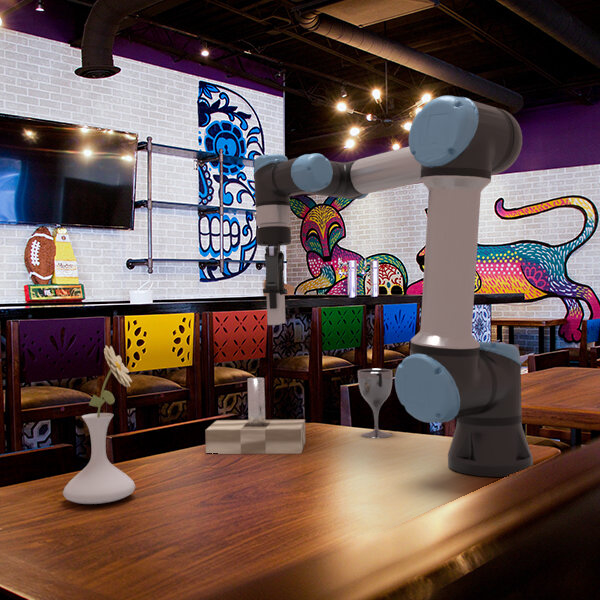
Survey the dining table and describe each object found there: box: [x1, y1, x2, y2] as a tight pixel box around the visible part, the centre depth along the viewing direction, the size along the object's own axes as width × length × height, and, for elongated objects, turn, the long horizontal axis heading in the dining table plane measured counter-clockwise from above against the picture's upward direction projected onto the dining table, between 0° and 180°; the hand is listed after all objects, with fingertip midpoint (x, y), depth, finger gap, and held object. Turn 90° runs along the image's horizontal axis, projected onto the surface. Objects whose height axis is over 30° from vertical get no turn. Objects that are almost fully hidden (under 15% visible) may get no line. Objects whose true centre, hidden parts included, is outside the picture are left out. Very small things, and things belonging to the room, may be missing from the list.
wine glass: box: [357, 368, 393, 439], centre depth 165 cm, size 8×8×15 cm
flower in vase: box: [62, 345, 136, 505], centre depth 117 cm, size 13×11×25 cm
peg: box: [247, 377, 266, 427], centre depth 154 cm, size 4×4×15 cm
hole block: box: [204, 418, 306, 455], centre depth 154 cm, size 12×20×5 cm, turn 85°
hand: (277, 324), depth 155 cm, fingers open, 13 cm apart
